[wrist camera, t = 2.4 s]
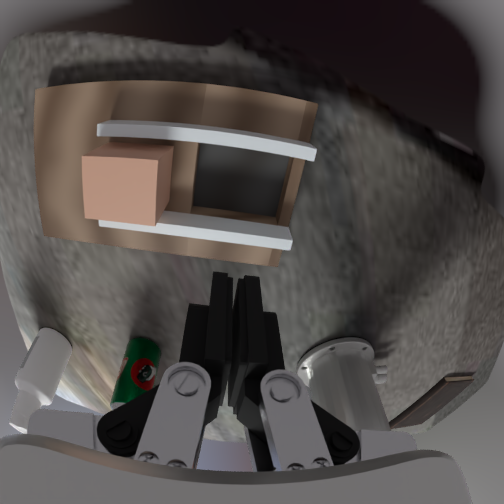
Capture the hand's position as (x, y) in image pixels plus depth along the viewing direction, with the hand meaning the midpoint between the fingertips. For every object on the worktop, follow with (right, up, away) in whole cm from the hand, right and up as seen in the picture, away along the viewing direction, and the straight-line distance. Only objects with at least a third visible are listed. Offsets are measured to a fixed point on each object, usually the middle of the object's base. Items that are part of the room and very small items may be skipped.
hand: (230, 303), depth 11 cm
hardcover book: (+49, -38, +48) cm, 79 cm away
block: (-9, +9, +12) cm, 17 cm away
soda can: (-15, -12, +27) cm, 33 cm away
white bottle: (-32, -13, +27) cm, 44 cm away
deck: (-8, +10, +14) cm, 19 cm away
